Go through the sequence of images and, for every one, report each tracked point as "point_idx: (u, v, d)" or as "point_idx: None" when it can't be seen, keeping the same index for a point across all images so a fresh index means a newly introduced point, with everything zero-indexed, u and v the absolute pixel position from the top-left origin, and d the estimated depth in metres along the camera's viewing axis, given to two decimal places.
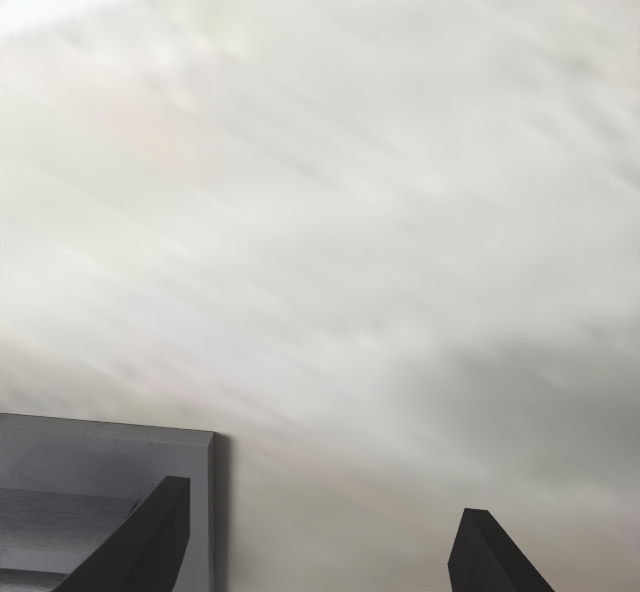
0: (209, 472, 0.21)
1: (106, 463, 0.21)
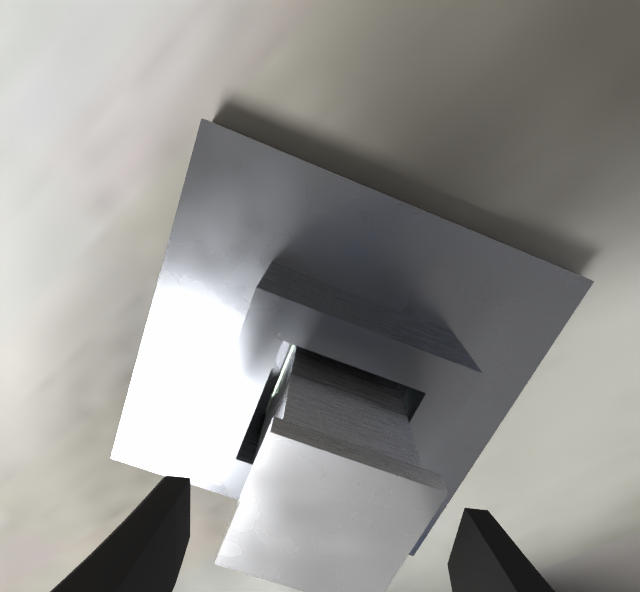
0: (258, 142, 0.14)
1: (204, 274, 0.16)
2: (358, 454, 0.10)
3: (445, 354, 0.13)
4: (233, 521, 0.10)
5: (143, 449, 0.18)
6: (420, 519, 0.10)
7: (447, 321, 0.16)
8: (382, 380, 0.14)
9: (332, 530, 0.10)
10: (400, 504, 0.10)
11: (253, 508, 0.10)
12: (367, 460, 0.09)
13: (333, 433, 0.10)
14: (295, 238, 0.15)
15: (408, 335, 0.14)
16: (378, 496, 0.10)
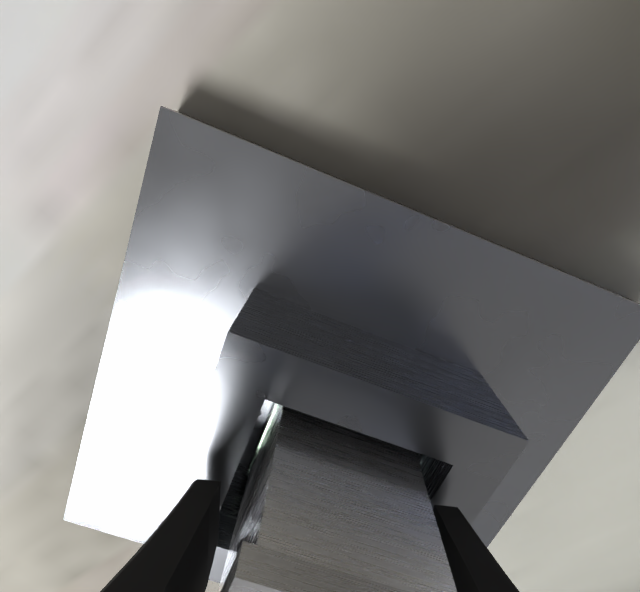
0: None
1: (170, 303, 0.12)
2: None
3: (478, 414, 0.10)
4: None
5: (102, 509, 0.15)
6: None
7: (473, 360, 0.13)
8: None
9: None
10: None
11: None
12: None
13: (332, 552, 0.07)
14: (283, 259, 0.12)
15: (429, 388, 0.10)
16: None
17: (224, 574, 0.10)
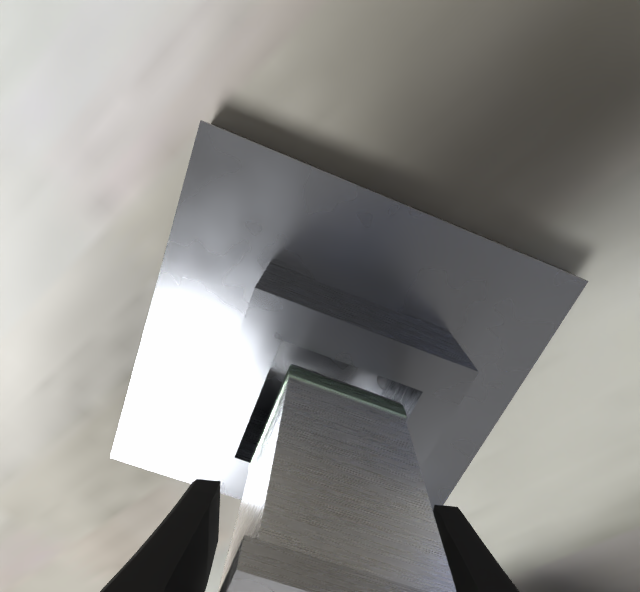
0: (256, 144, 0.14)
1: (203, 274, 0.16)
2: None
3: (441, 353, 0.13)
4: None
5: (142, 448, 0.19)
6: None
7: (444, 321, 0.16)
8: (394, 440, 0.11)
9: None
10: None
11: None
12: None
13: (331, 546, 0.07)
14: (293, 239, 0.15)
15: (405, 335, 0.14)
16: None
17: (225, 570, 0.10)
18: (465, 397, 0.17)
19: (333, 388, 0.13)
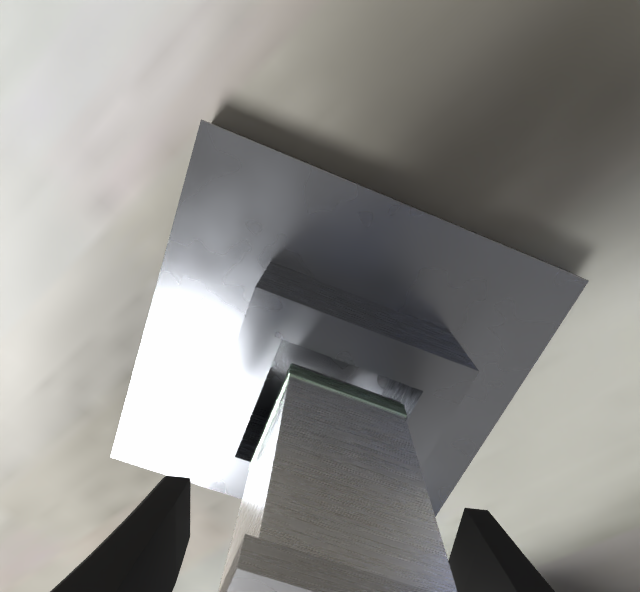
0: None
1: (203, 273, 0.16)
2: (369, 591, 0.07)
3: (441, 352, 0.13)
4: None
5: (143, 448, 0.19)
6: None
7: (444, 320, 0.16)
8: (394, 439, 0.11)
9: None
10: None
11: None
12: None
13: (332, 545, 0.07)
14: (294, 238, 0.15)
15: (405, 334, 0.14)
16: None
17: (226, 569, 0.10)
18: (465, 397, 0.17)
19: (334, 387, 0.13)
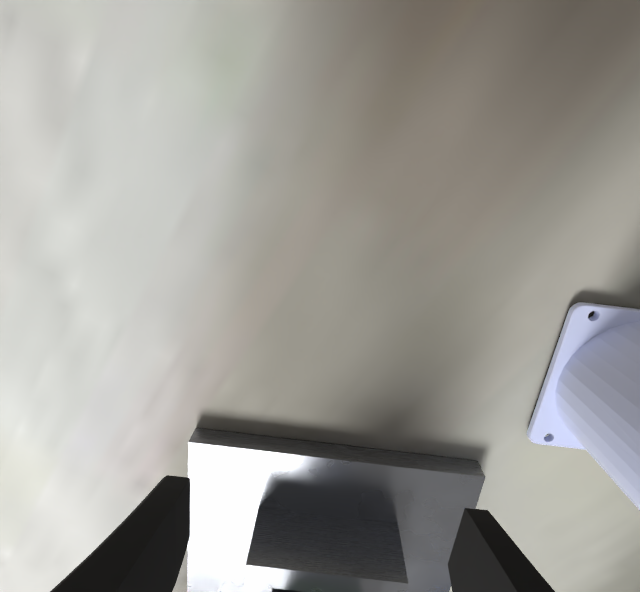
0: (228, 442, 0.21)
1: (216, 523, 0.23)
2: None
3: (381, 571, 0.19)
4: None
5: None
6: None
7: (390, 518, 0.22)
8: None
9: None
10: None
11: None
12: None
13: None
14: (269, 492, 0.22)
15: (355, 559, 0.20)
16: None
17: None
18: (425, 560, 0.23)
19: None
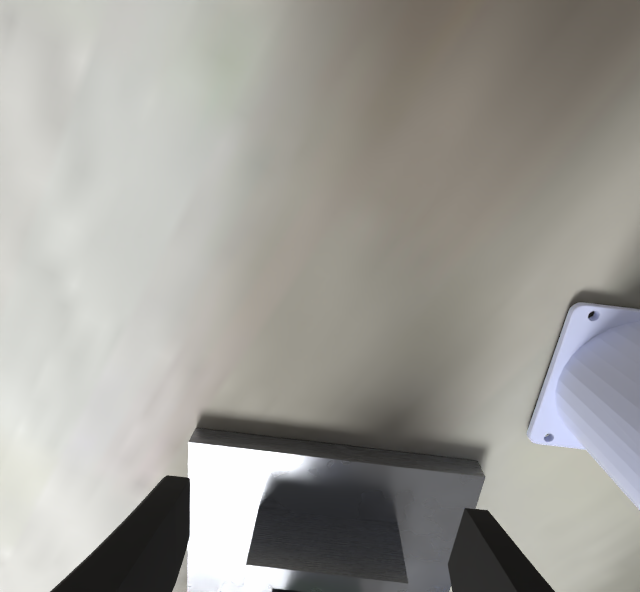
0: (228, 442, 0.21)
1: (216, 523, 0.23)
2: None
3: (381, 571, 0.19)
4: None
5: None
6: None
7: (390, 518, 0.22)
8: None
9: None
10: None
11: None
12: None
13: None
14: (269, 492, 0.22)
15: (355, 559, 0.20)
16: None
17: None
18: (425, 560, 0.23)
19: None
